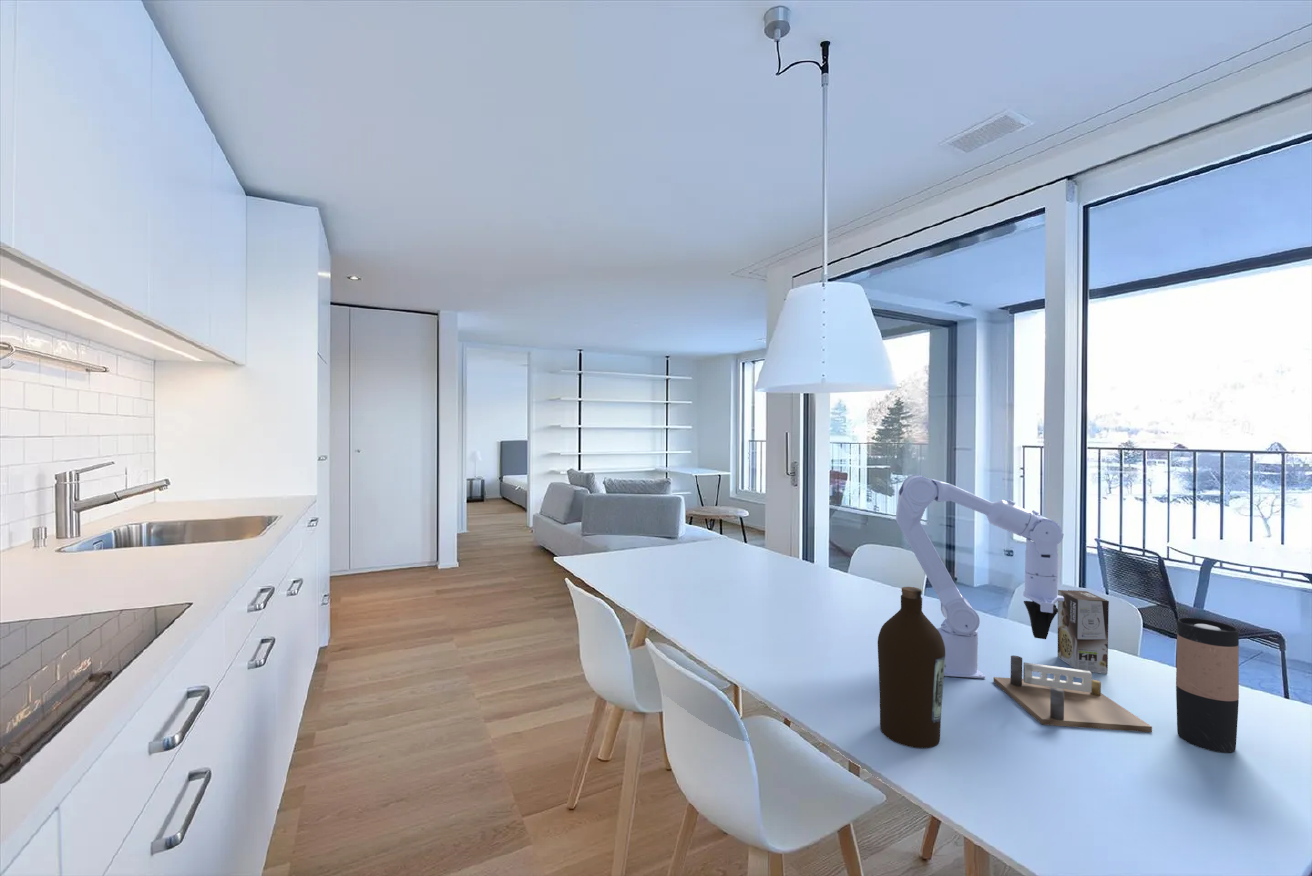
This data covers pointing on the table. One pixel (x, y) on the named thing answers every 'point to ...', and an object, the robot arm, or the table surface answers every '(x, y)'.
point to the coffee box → (1083, 631)
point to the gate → (1058, 677)
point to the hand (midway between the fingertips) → (1039, 637)
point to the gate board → (1068, 704)
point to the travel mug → (1207, 684)
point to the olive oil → (911, 675)
